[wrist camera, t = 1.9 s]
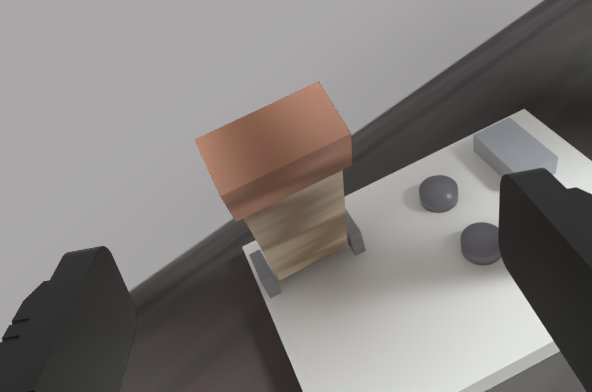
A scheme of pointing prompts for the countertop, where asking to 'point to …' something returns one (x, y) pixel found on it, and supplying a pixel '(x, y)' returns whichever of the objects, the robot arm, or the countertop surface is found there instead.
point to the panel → (422, 275)
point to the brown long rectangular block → (285, 177)
